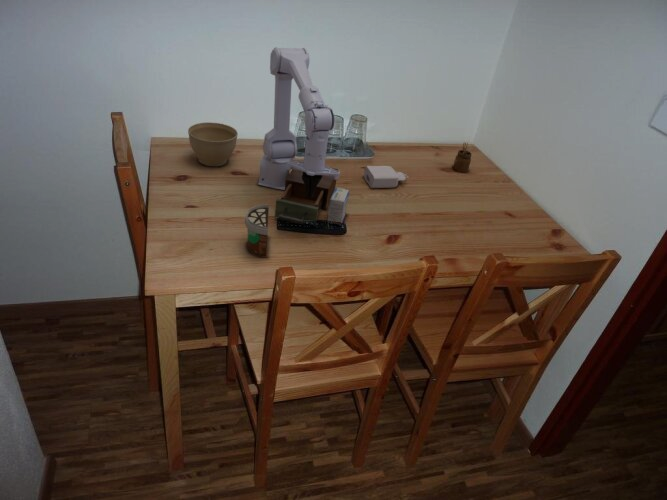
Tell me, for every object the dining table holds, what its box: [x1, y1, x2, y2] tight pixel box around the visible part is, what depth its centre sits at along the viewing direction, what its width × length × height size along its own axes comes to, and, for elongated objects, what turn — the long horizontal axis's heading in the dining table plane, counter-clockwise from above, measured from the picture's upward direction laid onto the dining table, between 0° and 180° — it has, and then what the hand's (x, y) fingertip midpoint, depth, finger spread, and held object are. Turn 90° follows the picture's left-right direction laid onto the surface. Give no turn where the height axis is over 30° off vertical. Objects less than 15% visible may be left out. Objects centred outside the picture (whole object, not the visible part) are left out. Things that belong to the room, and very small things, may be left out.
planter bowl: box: [187, 122, 238, 167], centre depth 173 cm, size 16×16×11 cm
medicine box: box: [327, 187, 350, 224], centre depth 153 cm, size 8×4×9 cm, turn 168°
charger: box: [363, 165, 410, 189], centre depth 178 cm, size 5×9×15 cm
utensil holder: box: [452, 141, 472, 173], centre depth 194 cm, size 6×6×12 cm
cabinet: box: [284, 160, 339, 211], centre depth 163 cm, size 15×14×8 cm
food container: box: [244, 204, 270, 258], centre depth 135 cm, size 12×6×10 cm, turn 5°
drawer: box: [274, 183, 325, 225], centre depth 151 cm, size 19×12×6 cm, turn 168°
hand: (310, 196), depth 144 cm, fingers closed
